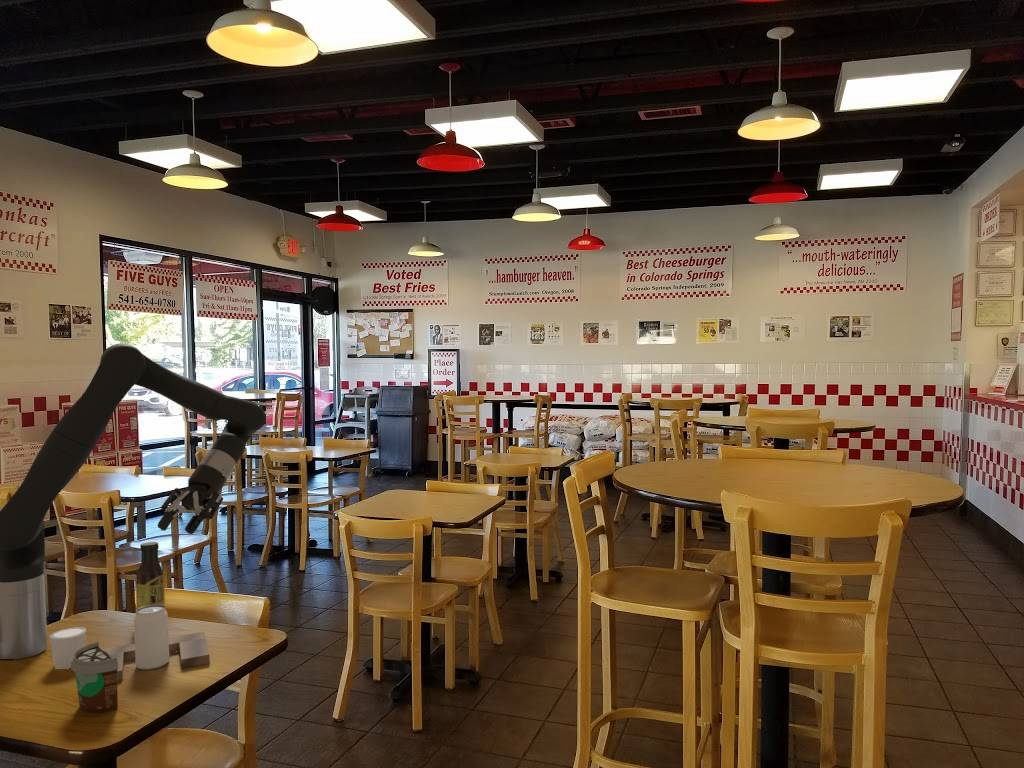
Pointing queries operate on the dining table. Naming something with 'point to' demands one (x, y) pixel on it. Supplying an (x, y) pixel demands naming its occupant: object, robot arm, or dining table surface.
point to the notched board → (188, 645)
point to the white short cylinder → (66, 645)
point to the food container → (95, 679)
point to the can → (151, 637)
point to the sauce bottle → (149, 577)
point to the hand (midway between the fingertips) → (174, 530)
